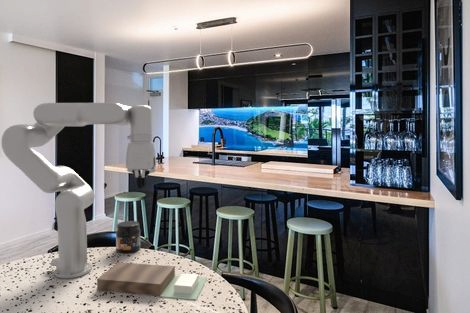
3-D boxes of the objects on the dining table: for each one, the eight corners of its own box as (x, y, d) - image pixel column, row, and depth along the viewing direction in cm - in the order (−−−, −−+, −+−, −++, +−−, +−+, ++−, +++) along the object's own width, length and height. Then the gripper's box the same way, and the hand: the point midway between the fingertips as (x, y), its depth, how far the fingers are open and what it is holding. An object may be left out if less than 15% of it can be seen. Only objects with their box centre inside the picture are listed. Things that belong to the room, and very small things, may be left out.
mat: (160, 297, 101) (160, 296, 101) (175, 276, 116) (175, 275, 116) (196, 300, 100) (196, 299, 100) (206, 278, 115) (206, 278, 115)
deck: (97, 290, 105) (97, 279, 105) (118, 272, 119) (118, 262, 118) (160, 296, 102) (160, 284, 102) (174, 277, 116) (174, 266, 115)
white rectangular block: (191, 286, 103) (191, 293, 103) (198, 274, 112) (198, 281, 112) (173, 285, 104) (173, 292, 104) (182, 273, 113) (182, 280, 113)
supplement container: (110, 252, 139) (110, 225, 138) (125, 244, 149) (125, 219, 148) (131, 255, 136) (131, 228, 135) (145, 247, 146) (145, 221, 145)
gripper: (117, 138, 114) (117, 188, 116) (156, 139, 112) (156, 190, 114) (127, 138, 122) (127, 185, 123) (164, 139, 120) (164, 187, 121)
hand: (141, 187), depth 118 cm, fingers closed
